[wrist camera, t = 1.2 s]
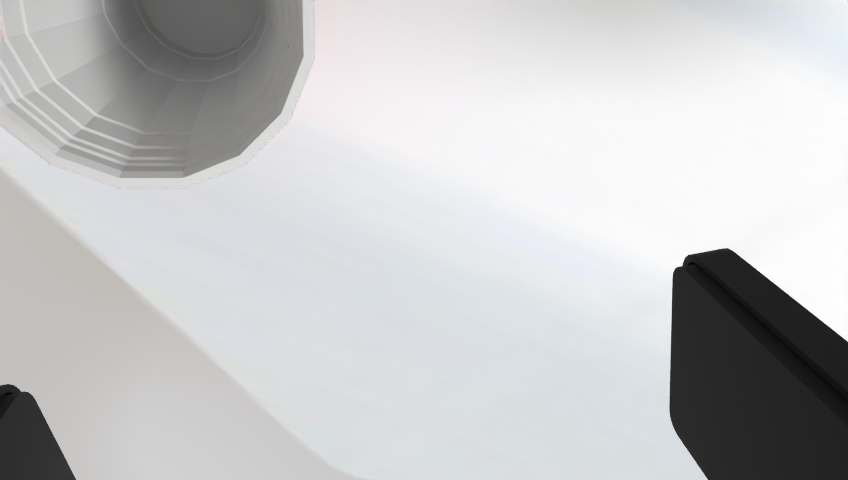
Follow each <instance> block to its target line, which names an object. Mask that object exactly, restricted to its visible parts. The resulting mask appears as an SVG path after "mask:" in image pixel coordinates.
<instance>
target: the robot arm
mask: <svg viewBox="0 0 848 480" xmlns="http://www.w3.org/2000/svg"><path fill="white" fill-rule="evenodd" d="M670 417H671V421H672V424H673V427H674V429H675V431H676V433H677V435H678V436H679V438H680V439H681V441H682V442H683V444H684V445H685V447H686V448H687V450H688V451H689V452H690V454H691V455H692V457H693V458H694V460H695V461H696V463H697V464H698V466H699V467H700V468H701V470H702V471H703V473H704V474H705V476H706V477H707V479H708V480H848V342H847V341H846V340H845V339H843V338H842V337H841V336H840V335H838V334H837V333H836V332H835V331H833V330H832V329H831V328H830V327H828V326H827V325H826V324H824V323H823V322H822V321H821V320H819V319H818V318H817V317H816V316H814V315H813V314H812V313H811V312H809V311H808V310H807V309H806V308H804V307H803V306H802V305H800V304H799V303H798V302H797V301H795V300H794V299H793V298H792V297H790V296H789V295H788V294H787V293H785V292H784V291H783V290H781V289H780V288H779V287H778V286H776V285H775V284H774V283H773V282H771V281H770V280H769V279H768V278H766V277H765V276H764V275H762V274H761V273H760V272H759V271H757V270H756V269H755V268H754V267H752V266H751V265H750V264H749V263H747V262H746V261H745V260H744V259H742V258H741V257H740V256H738V255H737V254H736V253H735V252H733V251H732V250H730V249H728V248H726V249H718V250H713V251H708V252H703V253H697V254H692V255H688V256H687V257H686V258H685V260H684V262H683V266H681V267H677V268H676V269H675V270H674V273H673V288H672V329H671V369H670ZM0 480H76V479H75V477H74V475H73V473H72V471H71V469H70V467H69V465H68V463H67V461H66V459H65V457H64V455H63V453H62V451H61V449H60V447H59V445H58V443H57V442H56V440H55V438H54V436H53V434H52V432H51V430H50V428H49V426H48V424H47V422H46V420H45V418H44V416H43V414H42V412H41V410H40V408H39V406H38V405H37V402H36V400H35V399H34V397H33V396H32V395H31V394H30V393H28V392H21V391H20V390H19V389H18V388H17V387H15V386H14V385H10V384H7V385H1V386H0Z"/></svg>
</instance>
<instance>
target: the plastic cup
mask: <svg viewBox="0 0 848 480" xmlns="http://www.w3.org/2000/svg"><path fill="white" fill-rule="evenodd" d="M314 59H315V42H314V0H0V126H1V127H3V128H4V129H5V130H6V131H8V132H9V133H10V134H12V135H13V136H14V137H15V138H17V139H18V140H19V141H20V142H22V143H23V144H24V145H26V146H27V147H28V148H29V149H31V150H32V151H33V152H35V153H36V154H37V155H38V156H40V157H41V158H42V159H43V160H45V161H46V162H47V163H49V164H50V165H53V166H56V167H59V168H62V169H65V170H68V171H70V172H73V173H76V174H79V175H82V176H85V177H87V178H90V179H93V180H96V181H99V182H102V183H105V184H107V185H110V186H113V187H116V188H188V187H190V186H193V185H195V184H198V183H200V182H203V181H205V180H208V179H210V178H213V177H215V176H218V175H220V174H223V173H225V172H227V171H230V170H232V169H235V168H237V167H240V166H242V165H245V164H247V163H248V162H249V161H250V160H251V159H252V158H253V157H254V156H255V155H256V154H257V153H258V152H259V151H260V150H261V149H262V148H263V147H264V146H265V145H266V144H267V143H268V142H269V141H270V140H271V139H272V138H273V137H274V136H275V135H276V134H277V133H278V132H279V131H280V130H281V129H282V128H283V127H284V126H285V125H286V124H287V123H288V122H289V121H290V120H291V118H292V115H293V112H294V110H295V107H296V105H297V102H298V100H299V97H300V95H301V92H302V90H303V87H304V85H305V82H306V80H307V77H308V74H309V72H310V69H311V67H312V64H313V62H314Z"/></svg>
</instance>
